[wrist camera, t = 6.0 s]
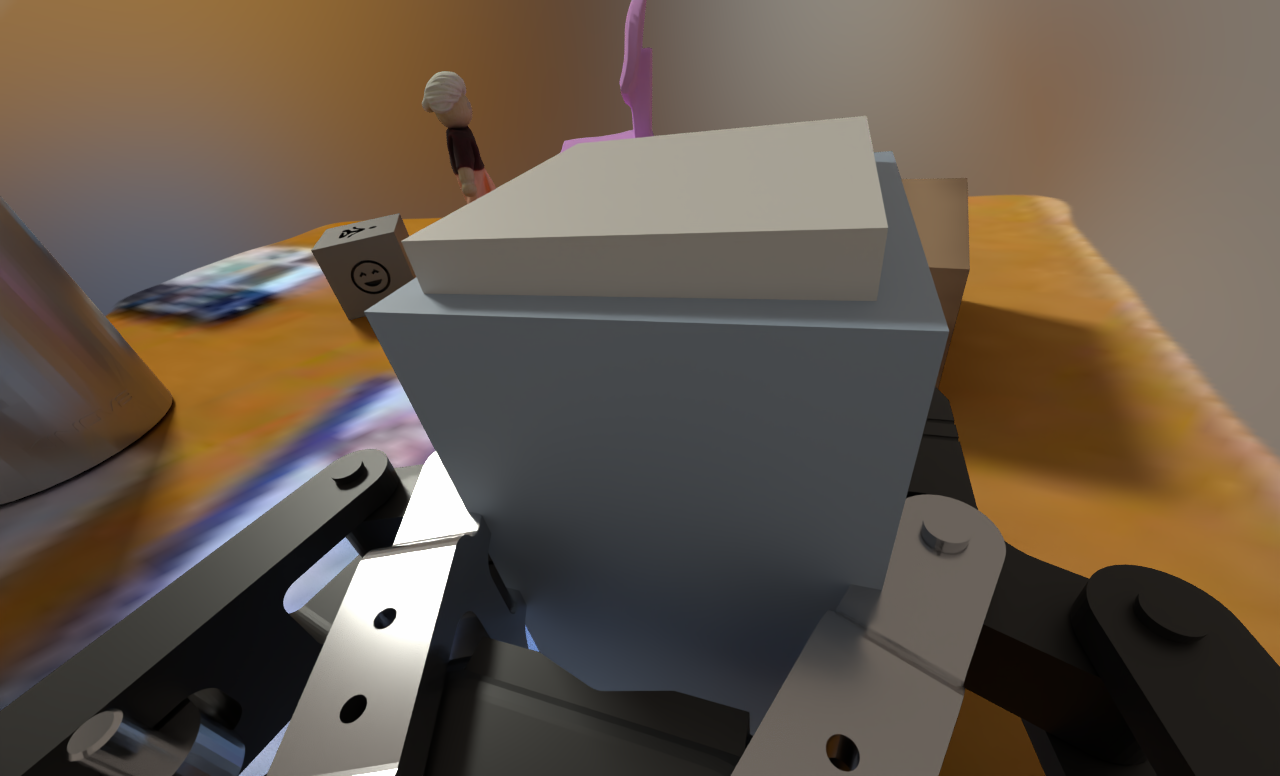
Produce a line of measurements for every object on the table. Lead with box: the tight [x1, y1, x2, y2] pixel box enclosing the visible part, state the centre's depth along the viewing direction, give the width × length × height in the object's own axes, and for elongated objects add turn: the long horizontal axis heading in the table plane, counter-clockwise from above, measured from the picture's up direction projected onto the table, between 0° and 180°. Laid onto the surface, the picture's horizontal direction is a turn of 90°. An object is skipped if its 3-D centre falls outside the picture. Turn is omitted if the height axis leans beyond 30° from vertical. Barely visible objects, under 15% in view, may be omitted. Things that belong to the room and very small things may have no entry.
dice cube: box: [311, 214, 416, 320], centre depth 35 cm, size 5×5×5 cm
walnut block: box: [901, 178, 970, 389], centre depth 23 cm, size 10×10×6 cm
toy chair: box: [560, 0, 654, 153], centre depth 33 cm, size 8×9×15 cm
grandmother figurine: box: [422, 72, 496, 204], centre depth 38 cm, size 8×4×13 cm, turn 26°
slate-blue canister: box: [364, 116, 949, 736], centre depth 9 cm, size 6×6×12 cm
